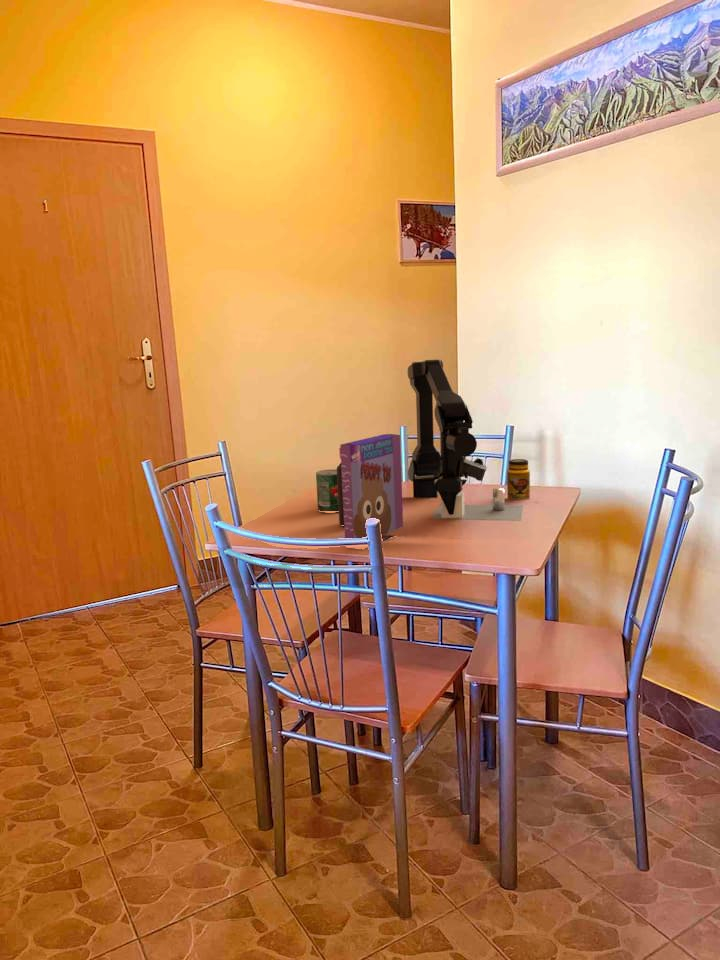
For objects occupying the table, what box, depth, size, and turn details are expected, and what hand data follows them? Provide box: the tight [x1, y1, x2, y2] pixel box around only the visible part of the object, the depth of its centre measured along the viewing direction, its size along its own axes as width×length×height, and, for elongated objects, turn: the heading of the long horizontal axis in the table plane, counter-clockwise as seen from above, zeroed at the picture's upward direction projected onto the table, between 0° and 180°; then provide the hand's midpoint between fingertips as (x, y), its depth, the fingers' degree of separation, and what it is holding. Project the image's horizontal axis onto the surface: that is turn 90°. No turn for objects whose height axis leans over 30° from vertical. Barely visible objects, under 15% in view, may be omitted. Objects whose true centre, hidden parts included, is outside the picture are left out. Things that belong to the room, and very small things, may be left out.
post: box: [492, 487, 506, 511], centre depth 184 cm, size 3×3×6 cm
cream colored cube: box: [440, 491, 465, 518], centre depth 180 cm, size 5×5×6 cm
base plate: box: [431, 504, 524, 522], centre depth 183 cm, size 22×16×2 cm
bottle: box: [336, 447, 344, 525], centre depth 180 cm, size 7×7×20 cm
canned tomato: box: [315, 469, 339, 511], centre depth 198 cm, size 8×8×11 cm
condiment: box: [506, 458, 537, 503], centre depth 198 cm, size 7×8×12 cm
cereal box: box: [339, 433, 404, 542], centre depth 165 cm, size 17×5×24 cm, turn 145°
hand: (453, 511), depth 181 cm, fingers open, 6 cm apart
